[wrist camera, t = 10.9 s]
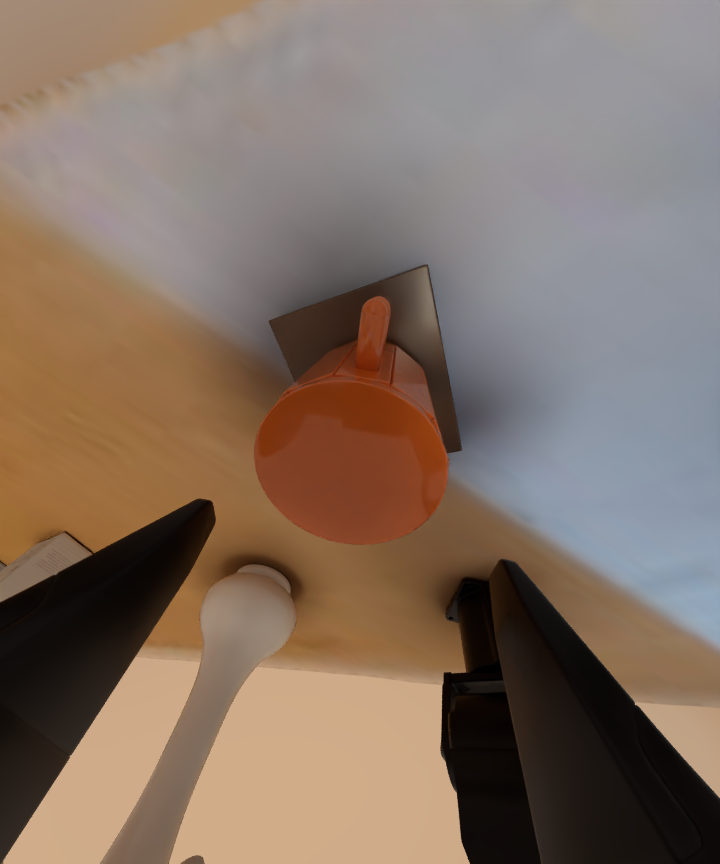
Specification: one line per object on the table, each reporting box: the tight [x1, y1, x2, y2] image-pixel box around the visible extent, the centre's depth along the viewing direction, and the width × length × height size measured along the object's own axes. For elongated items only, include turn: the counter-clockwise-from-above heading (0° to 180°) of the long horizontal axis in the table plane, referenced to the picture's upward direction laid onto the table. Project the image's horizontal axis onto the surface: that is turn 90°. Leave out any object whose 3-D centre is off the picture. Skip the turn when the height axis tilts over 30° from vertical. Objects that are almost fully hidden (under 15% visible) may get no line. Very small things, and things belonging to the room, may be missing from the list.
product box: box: [0, 533, 92, 602], centre depth 31 cm, size 6×6×7 cm
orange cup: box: [254, 295, 449, 545], centre depth 13 cm, size 9×7×7 cm
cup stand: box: [269, 265, 462, 453], centre depth 15 cm, size 11×9×9 cm
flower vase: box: [1, 564, 297, 864], centre depth 21 cm, size 13×18×25 cm
